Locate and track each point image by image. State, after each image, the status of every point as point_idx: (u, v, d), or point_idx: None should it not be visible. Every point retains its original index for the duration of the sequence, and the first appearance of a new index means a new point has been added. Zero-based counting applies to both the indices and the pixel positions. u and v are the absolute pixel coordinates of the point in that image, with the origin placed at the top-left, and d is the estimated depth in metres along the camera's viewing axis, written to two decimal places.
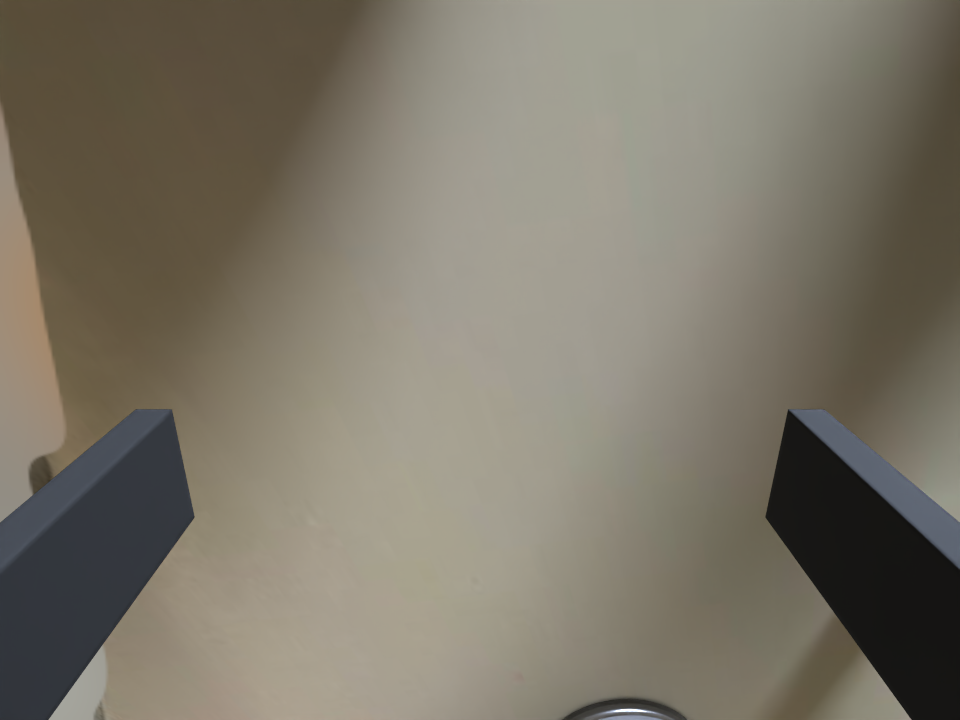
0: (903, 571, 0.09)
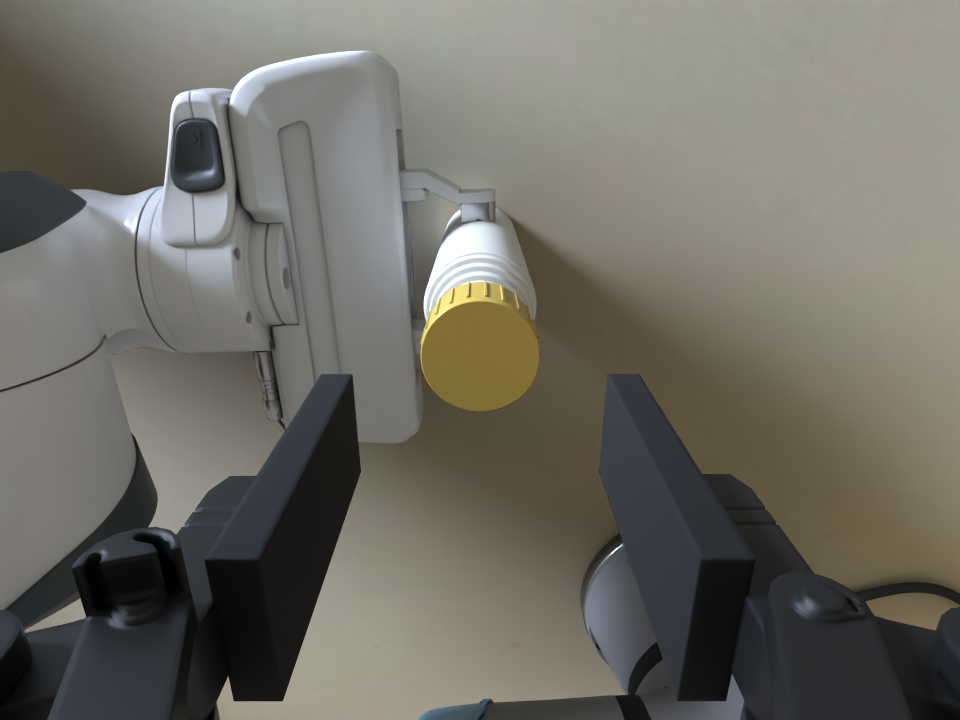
0: (647, 498, 0.11)
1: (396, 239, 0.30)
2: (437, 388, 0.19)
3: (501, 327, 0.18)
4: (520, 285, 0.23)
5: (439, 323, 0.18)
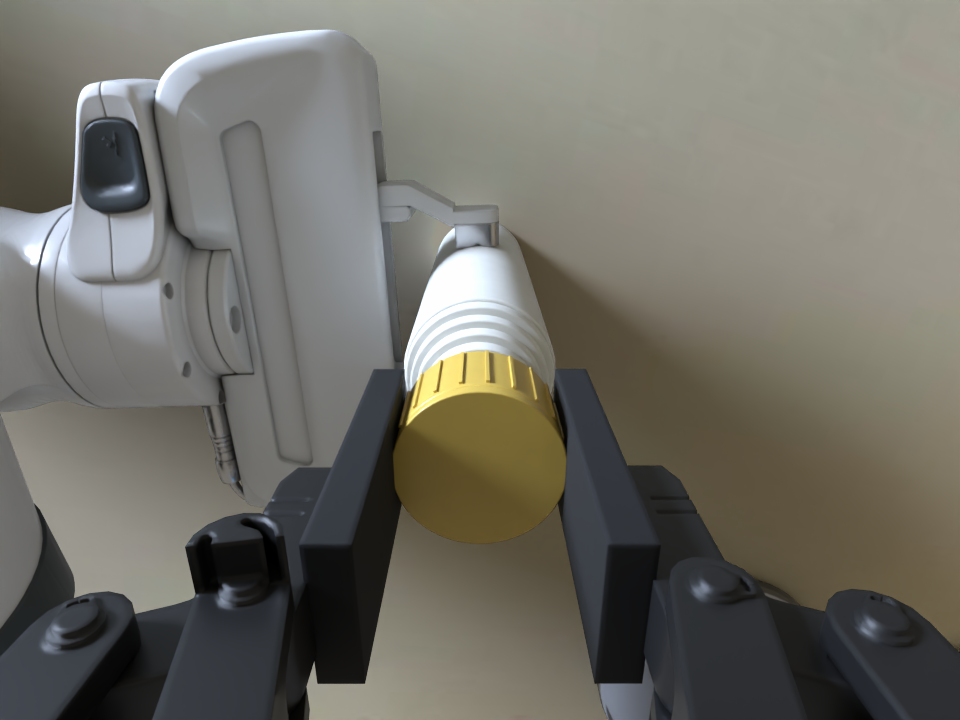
0: (578, 489, 0.11)
1: (374, 270, 0.24)
2: (416, 513, 0.13)
3: (511, 429, 0.12)
4: (534, 346, 0.16)
5: (418, 423, 0.12)
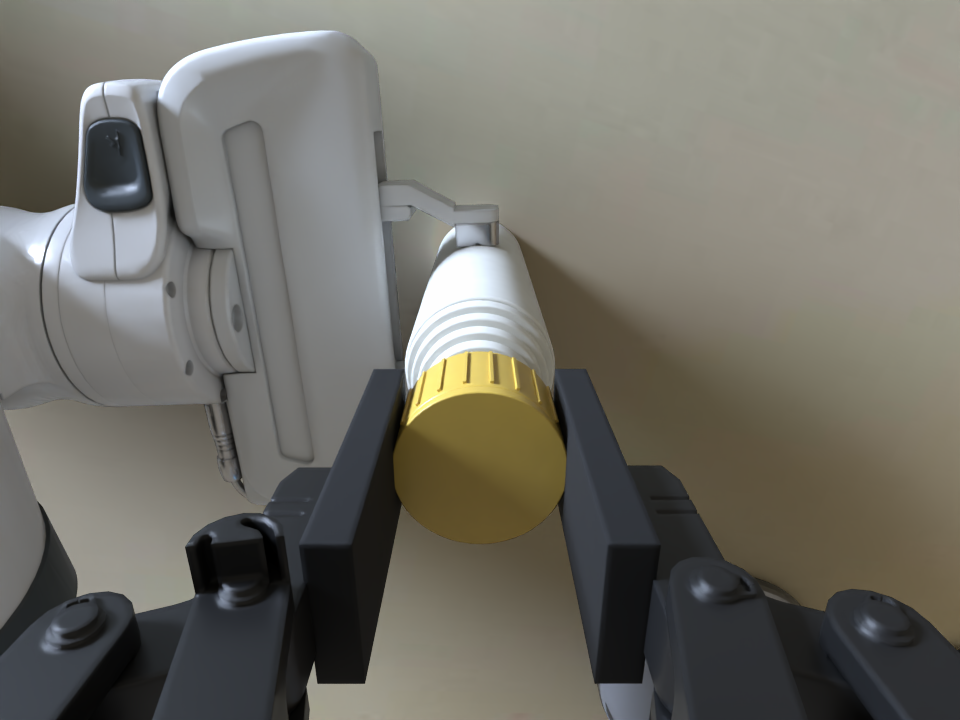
0: (578, 489, 0.11)
1: (375, 269, 0.24)
2: (559, 483, 0.13)
3: (424, 482, 0.13)
4: (534, 344, 0.17)
5: (482, 538, 0.13)
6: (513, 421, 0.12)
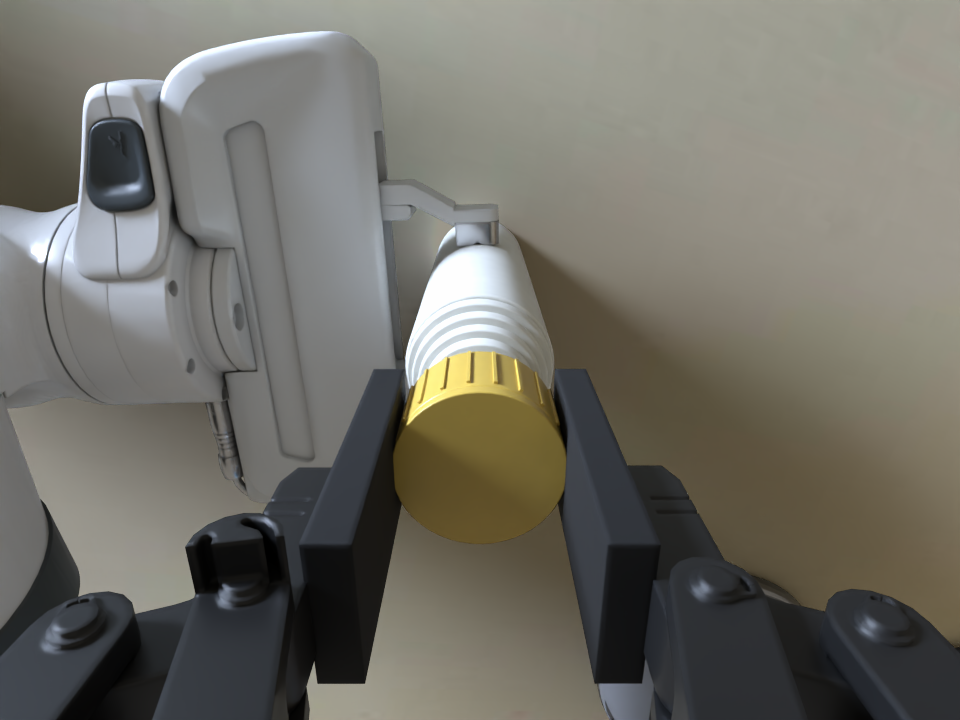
0: (578, 489, 0.11)
1: (375, 268, 0.24)
2: (430, 414, 0.12)
3: (526, 498, 0.13)
4: (533, 342, 0.17)
5: (537, 420, 0.12)
6: (416, 487, 0.13)
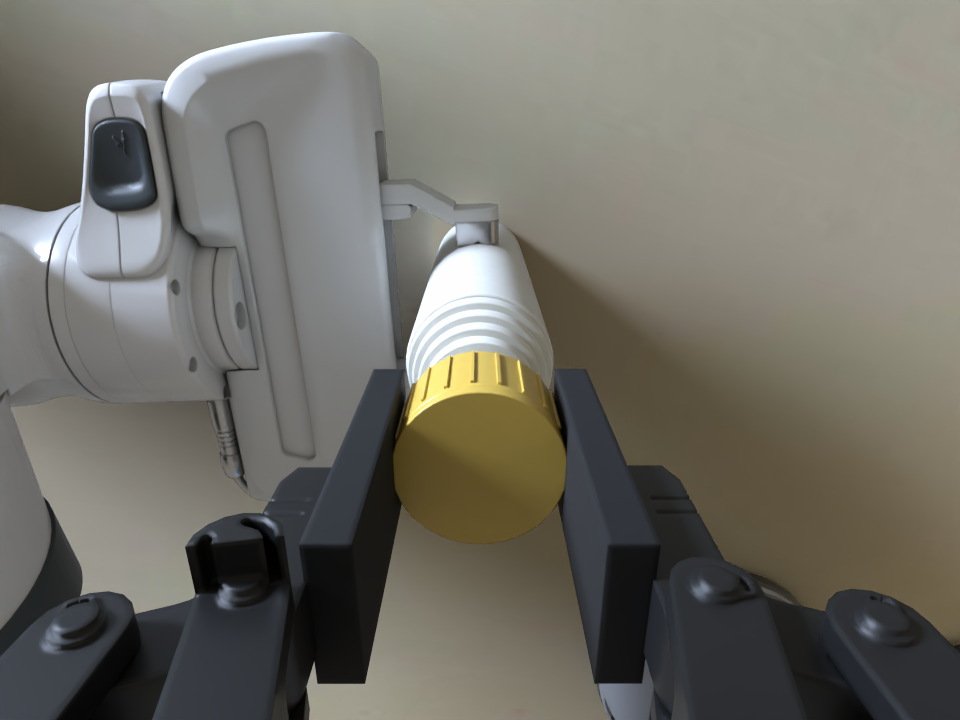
0: (578, 489, 0.11)
1: (376, 267, 0.24)
2: (467, 538, 0.13)
3: (467, 422, 0.12)
4: (533, 340, 0.17)
5: (399, 474, 0.13)
6: (535, 500, 0.13)
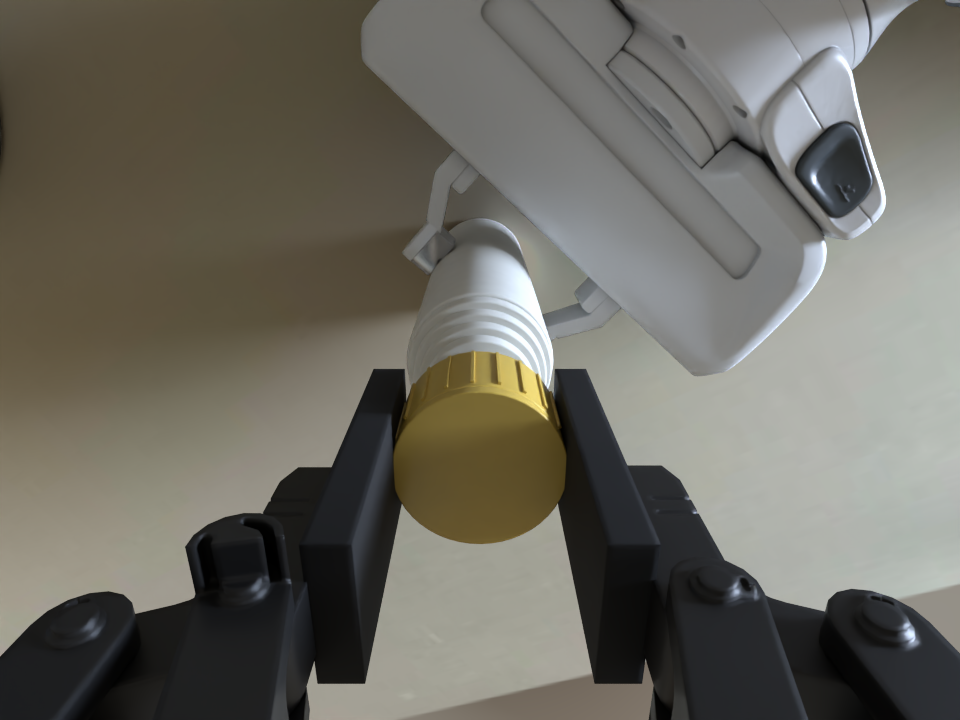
0: (578, 489, 0.11)
1: (578, 256, 0.24)
2: (467, 538, 0.13)
3: (467, 422, 0.12)
4: None
5: (399, 474, 0.13)
6: (535, 500, 0.13)
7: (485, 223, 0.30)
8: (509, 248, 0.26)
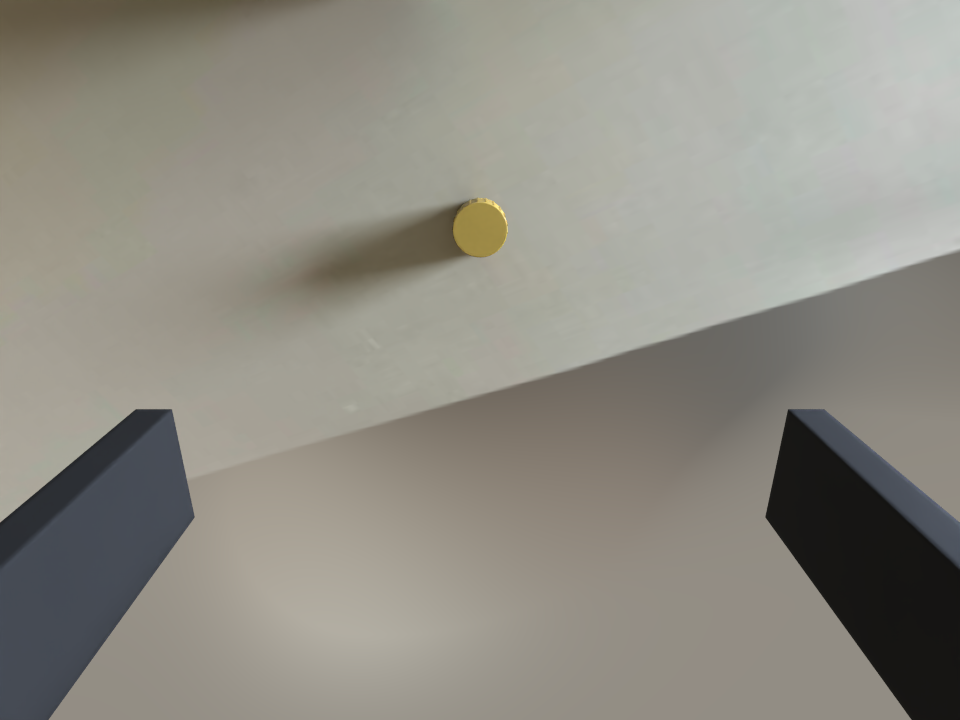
0: (903, 571, 0.09)
1: None
2: (476, 254, 0.42)
3: (476, 212, 0.41)
4: None
5: (455, 230, 0.41)
6: (497, 240, 0.42)
7: None
8: None
